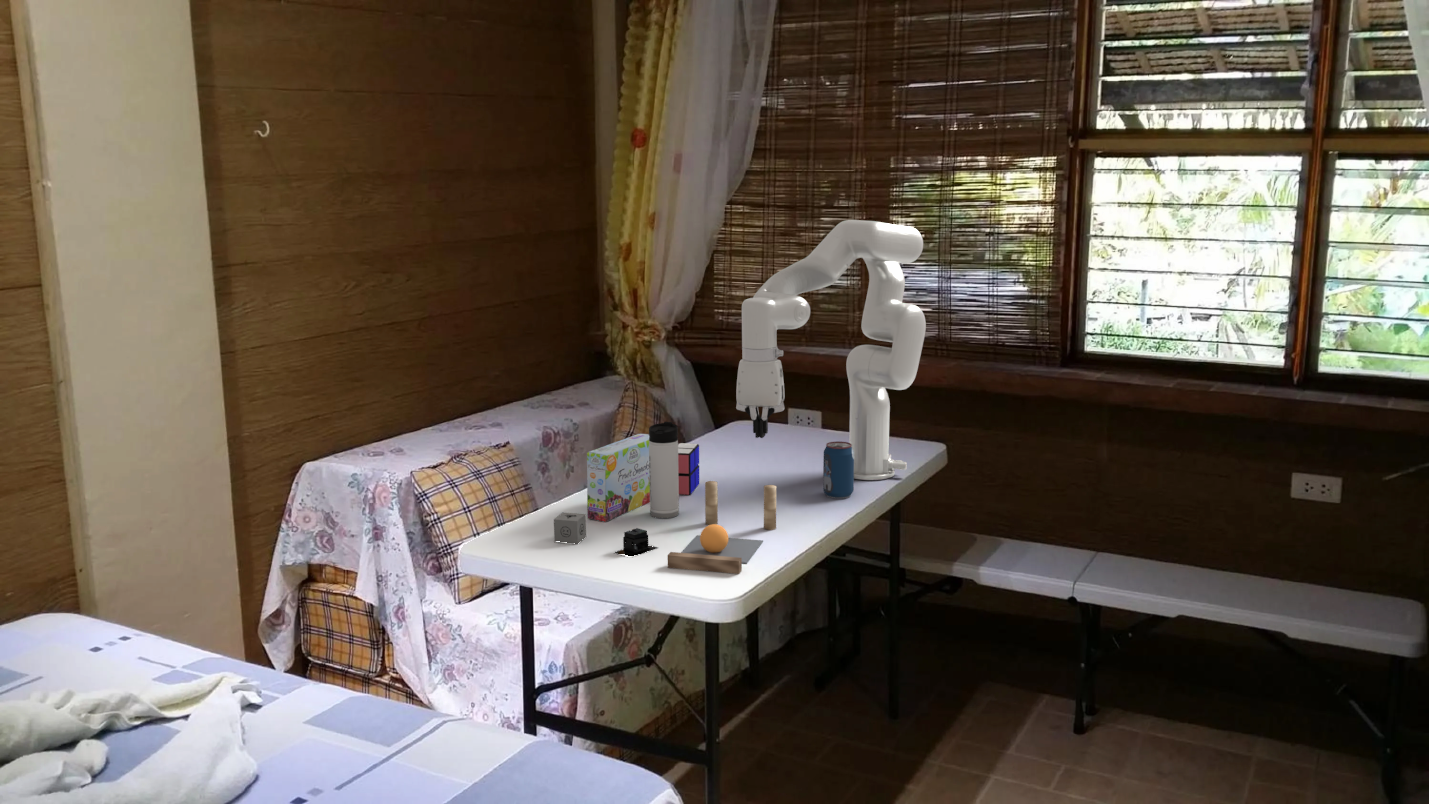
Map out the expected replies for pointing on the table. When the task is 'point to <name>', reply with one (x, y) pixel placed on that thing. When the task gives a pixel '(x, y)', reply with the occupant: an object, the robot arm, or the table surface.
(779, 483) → the table surface
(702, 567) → the stopper wall
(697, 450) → the puzzle cube
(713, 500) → the post far
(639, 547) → the black boxy piece
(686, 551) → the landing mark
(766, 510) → the post near
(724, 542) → the ball
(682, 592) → the table surface
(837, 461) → the soda can
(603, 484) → the snack box
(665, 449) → the travel mug
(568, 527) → the dice cube
